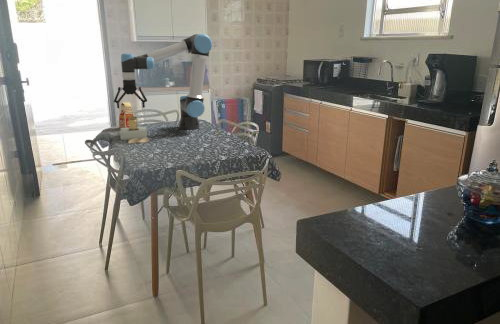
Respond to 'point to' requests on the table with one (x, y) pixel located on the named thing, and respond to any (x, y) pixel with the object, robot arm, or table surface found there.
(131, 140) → the pad
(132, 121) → the plug
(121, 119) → the milk carton
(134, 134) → the housing
